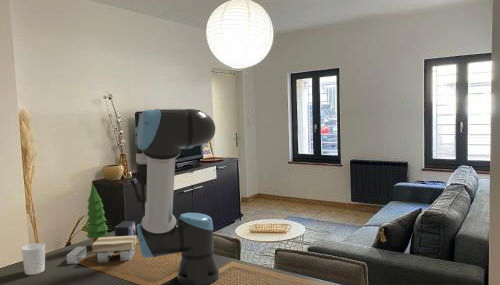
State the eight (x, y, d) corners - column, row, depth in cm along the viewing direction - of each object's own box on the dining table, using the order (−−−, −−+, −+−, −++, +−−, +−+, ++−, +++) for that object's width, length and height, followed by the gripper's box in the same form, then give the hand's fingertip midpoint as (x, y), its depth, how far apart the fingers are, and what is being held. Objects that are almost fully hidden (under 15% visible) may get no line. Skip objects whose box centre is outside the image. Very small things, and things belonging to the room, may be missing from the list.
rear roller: (130, 260, 156) (129, 251, 156) (120, 260, 156) (119, 251, 156) (135, 251, 166) (134, 243, 166) (125, 252, 166) (125, 243, 166)
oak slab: (132, 249, 156) (131, 242, 156) (92, 252, 155) (91, 244, 155) (137, 242, 166) (136, 235, 166) (99, 244, 165) (99, 237, 165)
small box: (129, 249, 169) (128, 226, 169) (114, 250, 170) (113, 227, 169) (136, 242, 180) (135, 220, 179) (123, 242, 180) (122, 220, 179)
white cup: (18, 274, 145) (16, 248, 144) (36, 266, 152) (34, 242, 152) (33, 276, 142) (31, 250, 142) (51, 268, 150) (49, 244, 149)
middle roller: (107, 261, 156) (107, 252, 155) (97, 262, 155) (97, 252, 155) (114, 253, 166) (113, 244, 165) (104, 253, 165) (104, 244, 165)
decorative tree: (83, 249, 171) (79, 184, 169) (92, 242, 180) (89, 180, 178) (104, 249, 171) (101, 183, 169) (112, 242, 180) (109, 180, 178)
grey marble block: (77, 264, 154) (76, 254, 154) (67, 264, 154) (66, 255, 154) (86, 255, 164) (86, 246, 164) (77, 255, 164) (77, 246, 164)
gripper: (127, 164, 155) (130, 221, 157) (160, 163, 156) (162, 219, 158) (131, 162, 163) (134, 216, 164) (162, 161, 164) (164, 214, 165)
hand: (147, 217), depth 161 cm, fingers closed
